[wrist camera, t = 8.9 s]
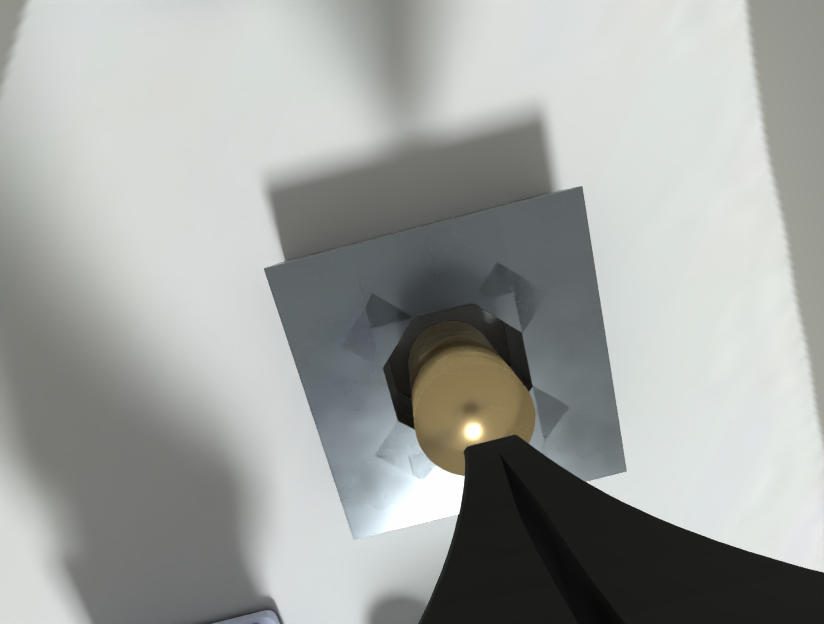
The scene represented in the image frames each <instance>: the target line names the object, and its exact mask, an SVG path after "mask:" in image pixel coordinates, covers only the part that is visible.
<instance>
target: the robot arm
mask: <svg viewBox="0 0 824 624" xmlns="http://www.w3.org/2000/svg"><path fill="white" fill-rule="evenodd" d="M464 456H465V477H464V486H463V493H462V499H461V505H460V510H459V514H458V518H457V523H456V527H455V531H454V535H453V538H452V542H451V545H450V548H449V551H448V554H447V557H446V560H445V563H444V566H443V569H442V571H441V574H440V576H439V579H438V581H437V584H436V586H435V588H434V591H433V593H432V596H431V598H430V600H429V603H428V605H427V607H426V609H425V611H424V613H423V616H422V618H421V620H420V621H419V623H418V624H824V573H823V572H819V571H815V570H811V569H807V568H803V567H799V566H796V565H792V564H789V563H786V562H782V561H779V560H775V559H772V558H769V557H765V556H762V555H759V554H755V553H752V552H748V551H745V550H742V549H739V548H736V547H733V546H730V545H727V544H724V543H721V542H718V541H715V540H713V539H710V538H707V537H705V536H702V535H699V534H697V533H694V532H691V531H689V530H686V529H683V528H681V527H678V526H675V525H673V524H670V523H668V522H666V521H663V520H661V519H658V518H656V517H654V516H652V515H650V514H647V513H645V512H643V511H641V510H639V509H636V508H634V507H632V506H630V505H628V504H626V503H624V502H622V501H620V500H618V499H616V498H614V497H612V496H610V495H608V494H606V493H604V492H603V491H601V490H599V489H597V488H595V487H594V486H592V485H590V484H588V483H587V482H585V481H583V480H582V479H580V478H578V477H577V476H575V475H574V474H572V473H571V472H569V471H568V470H566V469H564V468H563V467H561V466H560V465H558V464H557V463H555V462H554V461H552V460H551V459H550V458H548V457H547V456H545V455H544V454H542V453H541V452H540V451H538V450H537V449H536V448H534V447H533V446H531V445H530V444H529V443H527V442H526V441H525V440H523V439H522V438H521V437H519V436H517V435H516V434H515V435H511V436H507V437H503V438H499V439H495V440H491V441H487V442H483V443H479V444H475V445H471V446H467V447H466V449H465V450H464ZM257 623H259V624H280V623H279V620H278V618H277V615H276V614H275V613H274V612H273V611H270V610H264V611H260V612H256V613H252V614H248V615H244V616H240V617H236V618H232V619H228V620H224V621H220V622H216V623H212V624H257Z"/></svg>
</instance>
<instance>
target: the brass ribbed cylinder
mask: <svg viewBox="0 0 824 624" xmlns="http://www.w3.org/2000/svg"><path fill="white" fill-rule="evenodd" d="M408 367H409V377H410V387H411V397H412V407H413V416H414V426H415V433H416V437H417V440H418V443H419V445H420V447H421V449H422V451H423V452H424V454H425V455H426V456H427V457H428V458H429V460H430V461H432V462H433V463H434V464H435V465H436V466H438V467H440V468H441V469H443V470H445V471H447V472H449V473H453V474H456V475H461V476H465V456H464V450H465V449H466V447H467V446H471V445H475V444H479V443H483V442H487V441H491V440H495V439H499V438H503V437H507V436H511V435H515V434H516V435H517V436H519V437H521V438H522V439H523V440H525V441H526V442H527V443H529V442H530V440H531V438H532V435H533V432H534V427H535V417H536V415H535V407H534V403H533V400H532V398H531V395H530V393H529V391H528V390H527V388H526V387H525V386H524V384H523V383H522V382H521V381H520V379H519V378H518V377H517V376H516V374H515V373H514V372H513V371H512V369H511V368H510V367H509V366H508V365H507V363H506V362H505V361H504V360H503V358H502V357H501V356H500V355H499V353H498V352H497V351H496V350H495V348H494V347H493V346H492V345H491V344H490V342H489V341H488V340H487V339H486V337H485V336H484V335H483V334H482V333H481V332H480V331H479V330H478V329H476V328H475V327H473V326H471V325H469V324H467V323H464V322H459V321H445V322H440V323H437V324H435V325H432V326H430V327H429V328H427V329H426V330H424V331H423V332H422V333H421V334H420V335H419V336H418V337H417V339H416V340H415V341H414V343H413V345H412V347H411V350H410V353H409V359H408Z"/></svg>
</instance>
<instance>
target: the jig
mask: <svg viewBox="0 0 824 624" xmlns="http://www.w3.org/2000/svg"><path fill="white" fill-rule="evenodd" d="M264 271H265V274H266V277H267V280H268V283H269V286H270V289H271V292H272V295H273V298H274V301H275V304H276V307H277V310H278V313H279V316H280V319H281V322H282V325H283V328H284V331H285V334H286V337H287V340H288V343H289V346H290V349H291V352H292V355H293V358H294V361H295V364H296V367H297V370H298V373H299V376H300V379H301V382H302V385H303V388H304V391H305V394H306V397H307V400H308V403H309V406H310V409H311V412H312V415H313V418H314V421H315V424H316V427H317V430H318V433H319V436H320V439H321V442H322V445H323V448H324V451H325V454H326V457H327V461H328V464H329V467H330V470H331V473H332V476H333V479H334V482H335V485H336V488H337V491H338V494H339V497H340V500H341V503H342V506H343V509H344V512H345V515H346V518H347V521H348V524H349V527H350V530H351V533H352V536H353V539H354V540H356V539H360V538H364V537H367V536H371V535H375V534H379V533H383V532H387V531H391V530H395V529H399V528H403V527H407V526H411V525H415V524H419V523H423V522H427V521H431V520H435V519H439V518H443V517H447V516H451V515H455V514H459V510H460V505H461V499H462V493H463V486H464V477H465V476H461V475H456V474H453V473H449V472H447V471H445V470H443V469H441V468H440V467H438V466H436V465H435V464H434V463H433V462H432V461H430V460H429V458H428V457H427V456H426V455H425V454H424V452H423V451H422V449H421V447H420V445H419V443H418V440H417V437H416V433H415V426H414V416H413V407H412V399H410V398H408V397H406V396H405V395H403V394H401V393H399V392H397V389H396V386H395V382H394V379H393V375H392V372H391V368H390V364H389V361H388V359H389V357H390V355H391V354H392V352H393V350H394V349H395V347H396V345H397V344H398V342H399V340H400V339H401V337H402V335H403V334H404V332H405V331H406V329H407V327H408V326H409V324H410V322H411V321H412V319H413V318H415V317H419V316H423V315H427V314H431V313H435V312H439V311H443V310H446V309H450V308H454V307H458V306H462V305H466V304H470V303H473V304H475V305H476V306H478V307H480V308H481V309H483V310H485V311H486V312H488V313H490V314H491V315H493V316H495V317H497V318H498V319H500V320H502V321H503V323H504V327H505V332H506V337H507V342H508V346H509V351H510V356H511V360H512V363H511V364H510V366H509V367H510V368H511V369H512V371H513V372H514V373H515V374H516V376H517V377H518V378H519V379H520V381H521V382H522V383H523V384H524V386H525V387H526V388H527V390H528V391H529V393H530V395H531V398H532V400H533V403H534V407H535V415H536V417H535V427H534V432H533V435H532V438H531V440H530V442H529V444H530V445H531V446H533V447H534V448H536V449H537V450H538V451H540V452H541V453H542V454H544V455H545V456H547V457H548V458H550V459H551V460H552V461H554V462H555V463H557V464H558V465H560V466H561V467H563V468H564V469H566V470H568V471H569V472H571V473H572V474H574V475H575V476H577V477H578V478H580V479H582V480H583V481H585V482H586V481H590V480H594V479H598V478H602V477H606V476H610V475H614V474H618V473H622V472H626V471H627V470H626V464H625V457H624V451H623V445H622V438H621V432H620V425H619V419H618V412H617V406H616V400H615V393H614V387H613V380H612V374H611V368H610V361H609V355H608V348H607V342H606V336H605V329H604V323H603V316H602V310H601V303H600V297H599V291H598V284H597V278H596V271H595V265H594V259H593V252H592V246H591V239H590V233H589V227H588V220H587V214H586V207H585V201H584V194H583V188H582V186H581V187H576V188H571V189H566V190H561V191H556V192H551V193H547V194H543V195H539V196H536V197H532V198H528V199H524V200H520V201H516V202H512V203H509V204H505V205H501V206H497V207H493V208H489V209H485V210H481V211H478V212H474V213H470V214H466V215H462V216H458V217H454V218H451V219H447V220H443V221H439V222H435V223H431V224H427V225H423V226H420V227H416V228H412V229H408V230H404V231H400V232H396V233H393V234H389V235H385V236H381V237H377V238H373V239H369V240H366V241H362V242H358V243H354V244H350V245H346V246H342V247H338V248H335V249H331V250H327V251H323V252H319V253H315V254H311V255H308V256H304V257H300V258H296V259H292V260H288V261H285V262H282V263H279V264H276V265H273V266H270V267H267V268H264Z"/></svg>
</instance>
